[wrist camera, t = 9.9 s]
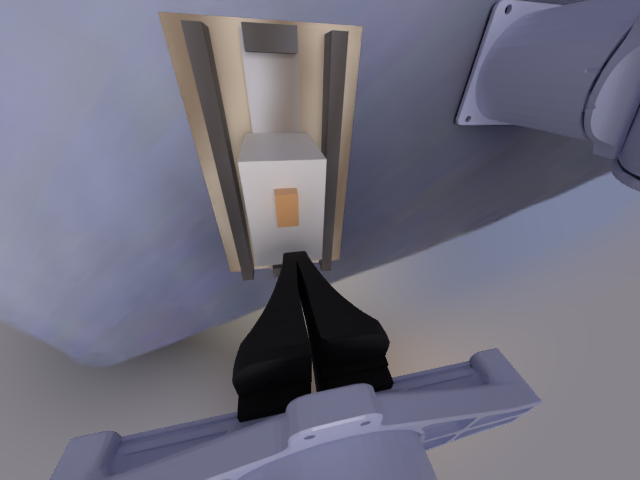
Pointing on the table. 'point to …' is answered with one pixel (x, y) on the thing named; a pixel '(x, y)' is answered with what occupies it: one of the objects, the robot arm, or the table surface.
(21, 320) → the table surface
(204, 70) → the mounting board
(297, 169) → the block
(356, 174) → the table surface
